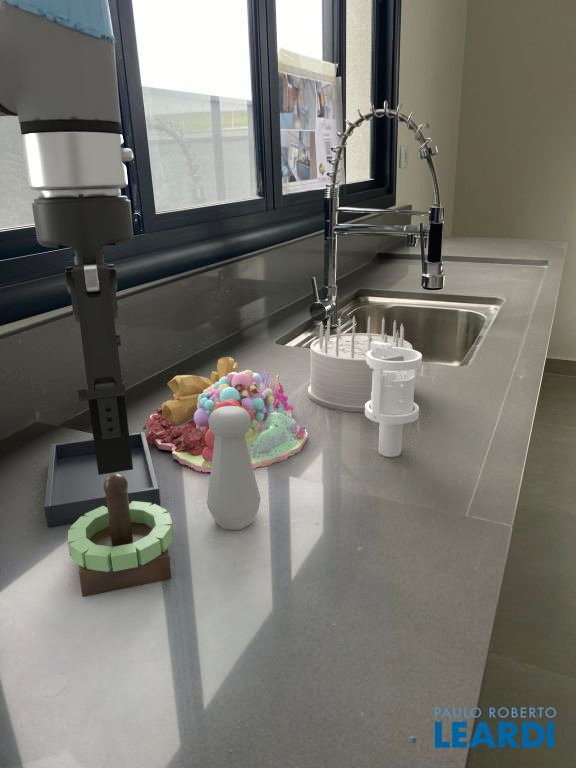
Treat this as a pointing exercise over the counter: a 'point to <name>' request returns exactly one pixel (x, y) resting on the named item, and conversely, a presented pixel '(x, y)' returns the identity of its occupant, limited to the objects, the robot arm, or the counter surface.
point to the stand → (122, 534)
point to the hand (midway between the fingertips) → (112, 438)
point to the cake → (347, 366)
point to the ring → (123, 554)
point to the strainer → (392, 394)
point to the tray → (93, 479)
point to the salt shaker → (232, 470)
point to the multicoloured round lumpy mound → (226, 388)
